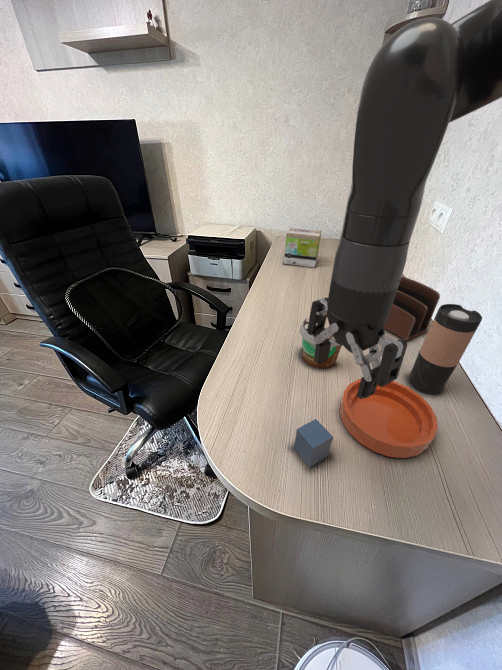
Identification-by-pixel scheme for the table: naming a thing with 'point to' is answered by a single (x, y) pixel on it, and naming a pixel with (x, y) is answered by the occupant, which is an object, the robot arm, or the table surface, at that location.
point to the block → (312, 442)
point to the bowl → (389, 419)
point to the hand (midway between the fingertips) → (340, 377)
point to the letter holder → (411, 309)
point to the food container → (310, 346)
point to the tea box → (302, 247)
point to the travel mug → (443, 347)
